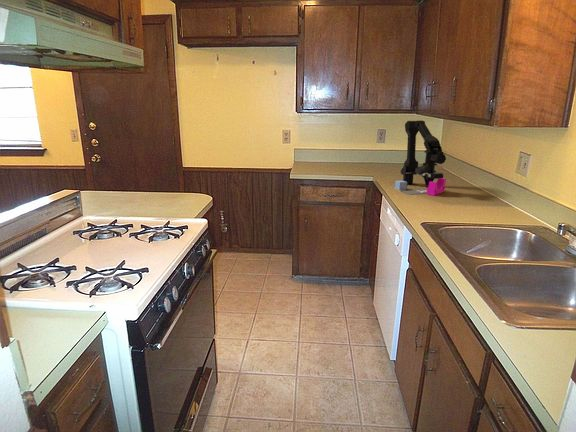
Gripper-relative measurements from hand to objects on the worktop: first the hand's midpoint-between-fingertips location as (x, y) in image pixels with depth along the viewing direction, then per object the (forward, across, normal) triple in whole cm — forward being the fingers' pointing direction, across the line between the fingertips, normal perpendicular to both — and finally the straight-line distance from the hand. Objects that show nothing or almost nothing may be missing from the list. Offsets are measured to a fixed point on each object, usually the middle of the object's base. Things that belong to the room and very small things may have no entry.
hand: (427, 187), depth 231 cm
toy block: (+2, +4, +2) cm, 5 cm away
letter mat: (+2, 0, -3) cm, 4 cm away
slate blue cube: (+2, -9, -12) cm, 15 cm away
